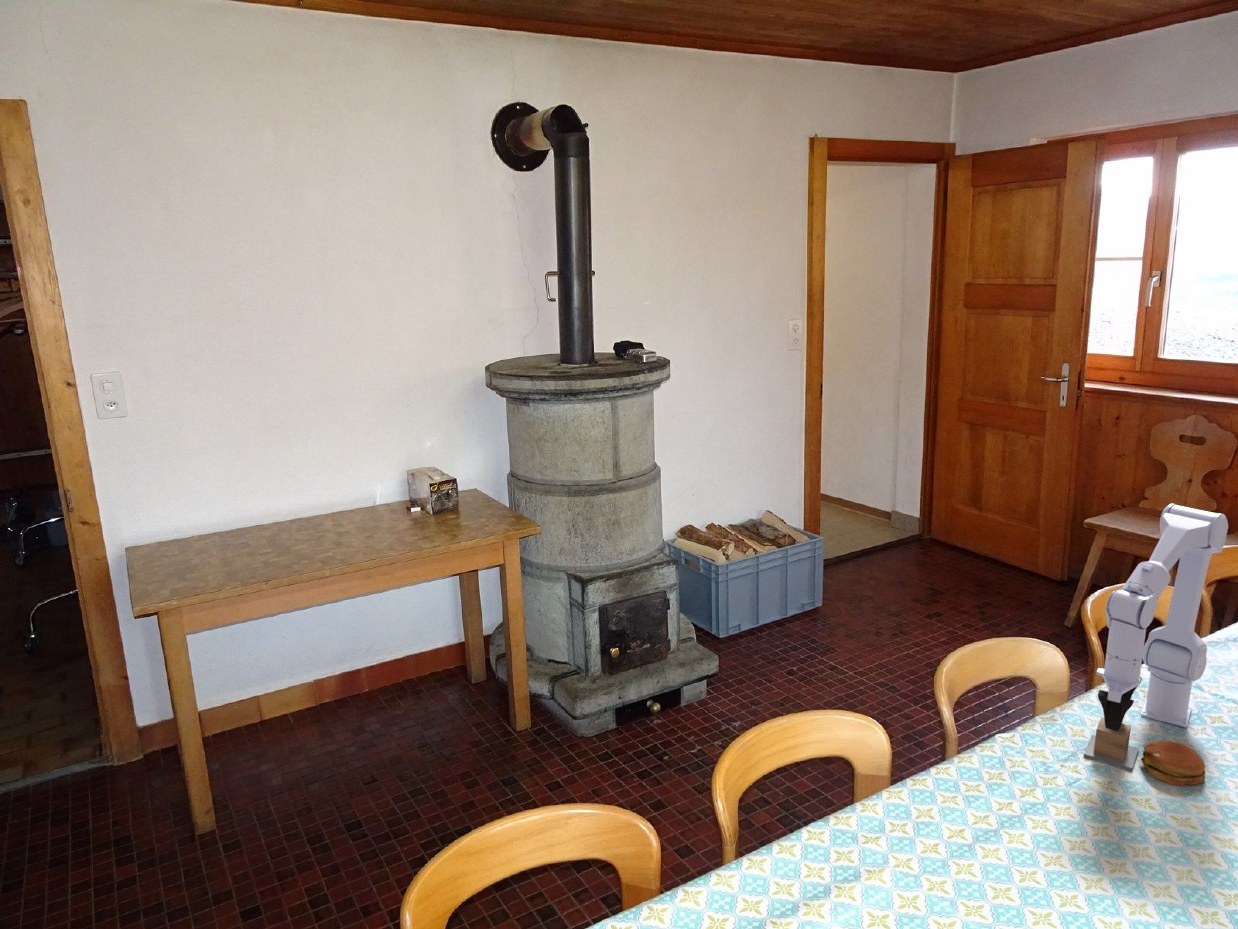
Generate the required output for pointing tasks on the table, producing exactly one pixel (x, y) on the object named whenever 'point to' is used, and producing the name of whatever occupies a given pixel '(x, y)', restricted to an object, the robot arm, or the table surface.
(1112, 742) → the walnut cube
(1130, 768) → the slate coaster
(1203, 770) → the burger
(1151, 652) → the robot arm
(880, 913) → the table surface
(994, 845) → the table surface
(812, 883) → the table surface
